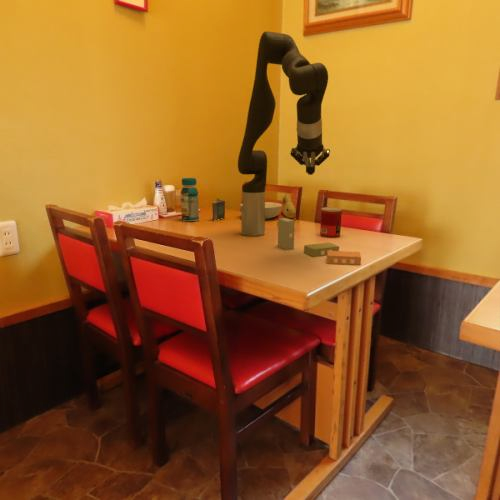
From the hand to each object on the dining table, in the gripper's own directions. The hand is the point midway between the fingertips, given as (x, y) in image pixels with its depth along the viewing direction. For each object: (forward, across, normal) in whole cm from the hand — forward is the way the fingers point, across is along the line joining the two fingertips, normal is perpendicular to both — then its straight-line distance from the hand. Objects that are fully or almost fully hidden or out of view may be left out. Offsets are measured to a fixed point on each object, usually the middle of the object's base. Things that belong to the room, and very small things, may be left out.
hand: (310, 173), depth 138 cm
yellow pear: (+42, +12, -9) cm, 45 cm away
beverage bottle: (+47, +60, -14) cm, 78 cm away
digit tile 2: (+15, -2, +21) cm, 26 cm away
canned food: (+36, -7, -2) cm, 37 cm away
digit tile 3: (+12, -8, +26) cm, 29 cm away
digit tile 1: (+21, +7, +16) cm, 28 cm away
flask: (+51, +48, -19) cm, 72 cm away
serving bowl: (+57, +29, -27) cm, 69 cm away
